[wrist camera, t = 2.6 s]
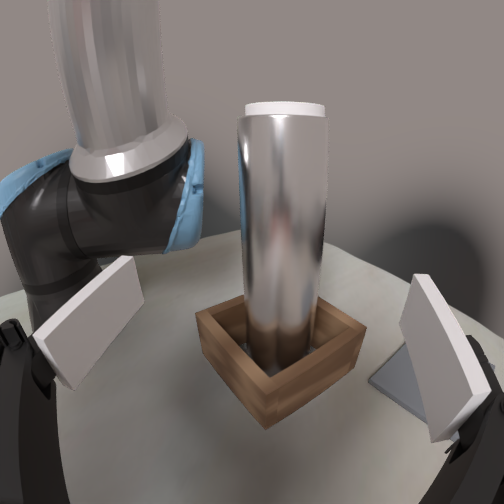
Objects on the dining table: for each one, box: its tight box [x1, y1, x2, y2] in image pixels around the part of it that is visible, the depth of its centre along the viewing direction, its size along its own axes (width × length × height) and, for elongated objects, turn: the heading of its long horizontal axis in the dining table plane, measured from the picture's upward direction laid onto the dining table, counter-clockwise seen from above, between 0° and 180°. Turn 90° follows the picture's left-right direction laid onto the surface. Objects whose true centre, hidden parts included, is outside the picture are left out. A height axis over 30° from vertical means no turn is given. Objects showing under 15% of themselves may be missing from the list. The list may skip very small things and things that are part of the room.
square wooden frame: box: [195, 295, 367, 430], centre depth 27 cm, size 12×12×6 cm
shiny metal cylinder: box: [237, 102, 329, 378], centre depth 23 cm, size 6×6×25 cm
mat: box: [368, 343, 495, 442], centre depth 23 cm, size 13×13×1 cm
